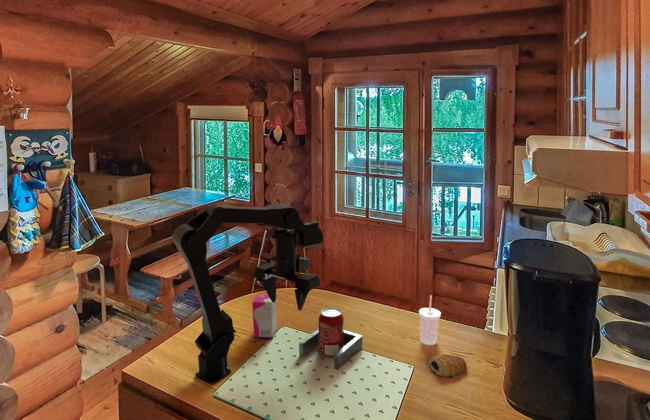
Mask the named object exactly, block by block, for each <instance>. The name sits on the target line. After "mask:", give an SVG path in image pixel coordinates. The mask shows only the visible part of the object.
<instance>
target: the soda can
mask: <svg viewBox="0 0 650 420" xmlns="http://www.w3.org/2000/svg"><path fill="white" fill-rule="evenodd" d="M318 329H319V345H318V351H319V353H320V354H321V355H322V356H325V357H331V358H332V357H333V358H334V354H336V353H337V352H338V351H339V350H341V349H342V348H343V347H344V345H343V330H344V316H343V313H342V310H341V309H339V308H337V307H326V308H323V309H321V311H320V314H319V316H318Z"/></svg>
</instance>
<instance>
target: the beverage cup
mask: <svg viewBox="0 0 650 420" xmlns="http://www.w3.org/2000/svg"><path fill="white" fill-rule="evenodd" d="M432 298H433V297H432V295H430V296H429V304H428V305H429V307H422V308H420V309H419V310H418V315H419V335H420V336H419V339H420V340H419V341H420V343H421V344H423V345H426V346H433V345H436V344H437V340H438V331H439V324H440V318H441V316H442V315H441V314H442V312H441V311H440V309H439V310H438V309H437V308H433V307H432Z"/></svg>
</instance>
